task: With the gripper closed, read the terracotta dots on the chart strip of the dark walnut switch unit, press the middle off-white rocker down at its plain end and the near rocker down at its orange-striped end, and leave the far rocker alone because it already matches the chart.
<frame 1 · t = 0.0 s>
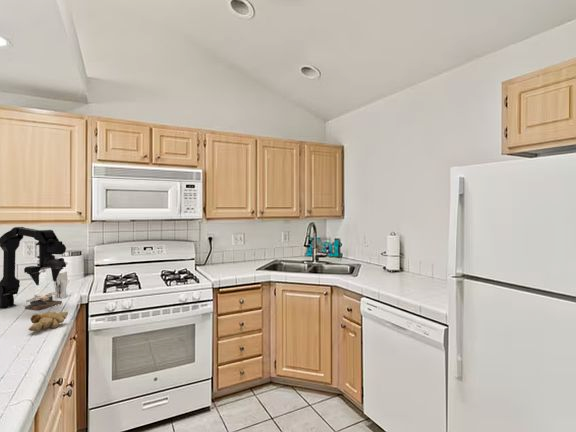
hand: (46, 283, 173), 15 cm above the worktop, tool pointing down, fingers open, 9 cm apart
far rocker: (49, 294, 186), point 5 cm above the worktop, hinge at -18.0°
switch unit: (43, 306, 182), on the worktop
ginger root: (46, 327, 150), on the worktop
middle rocker: (41, 296, 182), point 5 cm above the worktop, hinge at 18.0°
near rocker: (33, 299, 178), point 5 cm above the worktop, hinge at -18.0°
beer glass: (60, 297, 200), on the worktop
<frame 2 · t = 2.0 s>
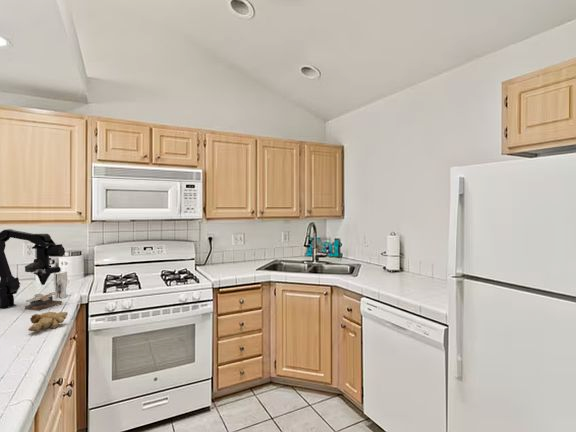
hand: (43, 284, 181), 12 cm above the worktop, tool pointing down, fingers closed
nothing on the worktop moved.
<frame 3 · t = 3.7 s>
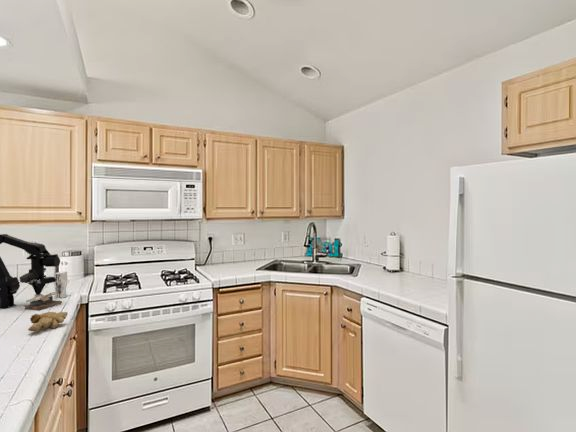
hand: (38, 294, 183), 6 cm above the worktop, tool pointing down, fingers closed, pressing on middle rocker
middle rocker: (41, 296, 182), point 5 cm above the worktop, hinge at 18.0°, touching gripper
everything else where it was.
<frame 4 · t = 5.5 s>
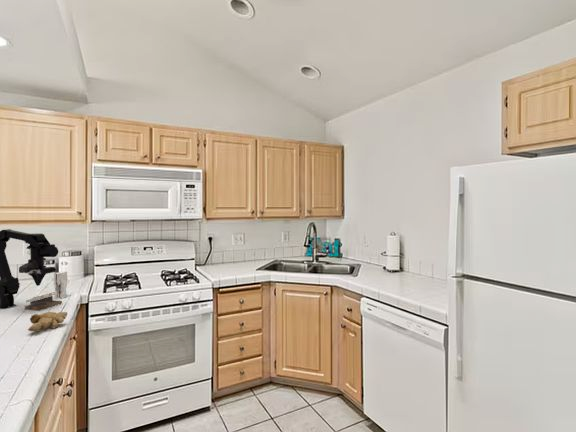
hand: (38, 285, 178), 12 cm above the worktop, tool pointing down, fingers closed
middle rocker: (41, 296, 182), point 5 cm above the worktop, hinge at -16.7°
everything else where it was.
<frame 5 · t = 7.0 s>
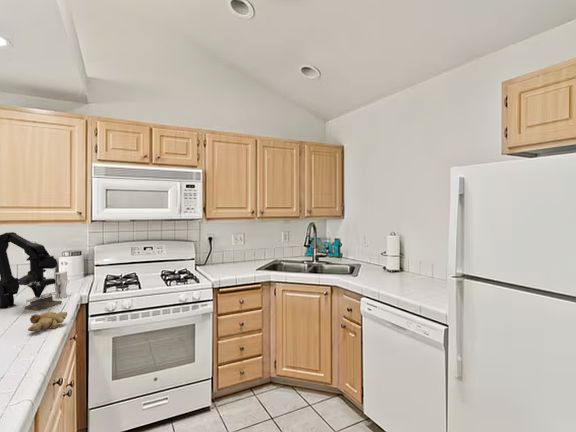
hand: (37, 297, 177), 6 cm above the worktop, tool pointing down, fingers closed
middle rocker: (41, 296, 182), point 5 cm above the worktop, hinge at -22.4°
near rocker: (33, 299, 178), point 5 cm above the worktop, hinge at -17.8°, touching gripper
everything else where it was.
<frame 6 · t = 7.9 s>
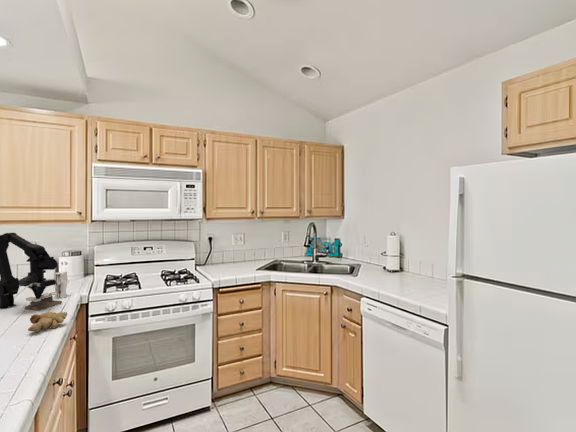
hand: (38, 298, 177), 6 cm above the worktop, tool pointing down, fingers closed, pressing on near rocker
middle rocker: (41, 296, 182), point 5 cm above the worktop, hinge at -23.5°
near rocker: (33, 299, 178), point 5 cm above the worktop, hinge at 2.7°, touching gripper
everything else where it was.
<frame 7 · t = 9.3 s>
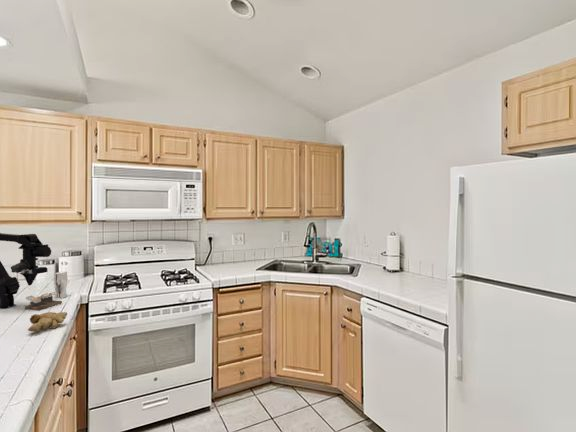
hand: (29, 285, 180), 12 cm above the worktop, tool pointing down, fingers closed
middle rocker: (41, 296, 182), point 5 cm above the worktop, hinge at -24.1°
near rocker: (33, 299, 178), point 5 cm above the worktop, hinge at 14.4°
everything else where it was.
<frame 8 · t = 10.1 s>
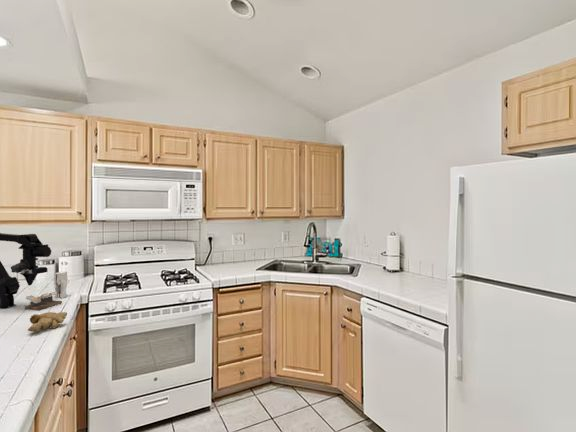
hand: (29, 285, 180), 12 cm above the worktop, tool pointing down, fingers closed
near rocker: (33, 299, 178), point 5 cm above the worktop, hinge at 16.8°
everything else where it was.
at the end: near rocker at +17° (first picture: -18°); middle rocker at -24° (first picture: +18°); far rocker at -18° (first picture: -18°) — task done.
